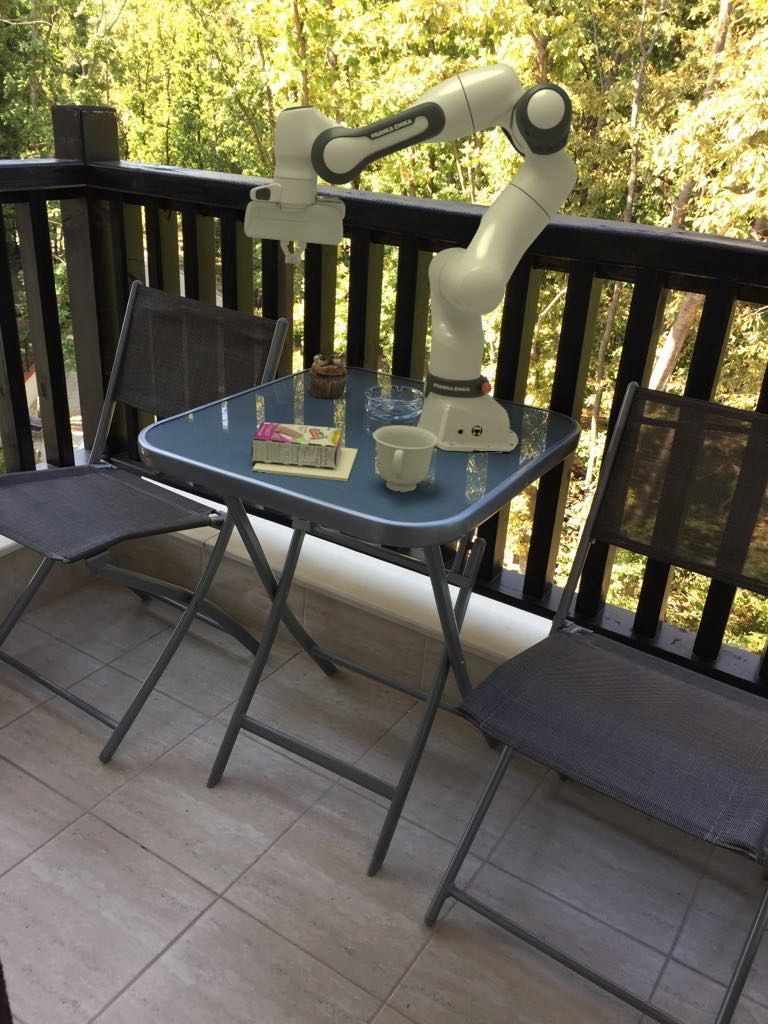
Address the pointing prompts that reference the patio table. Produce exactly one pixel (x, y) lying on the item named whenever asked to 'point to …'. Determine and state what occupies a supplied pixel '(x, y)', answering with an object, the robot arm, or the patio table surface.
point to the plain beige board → (314, 468)
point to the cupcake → (327, 377)
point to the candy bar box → (297, 445)
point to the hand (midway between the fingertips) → (292, 263)
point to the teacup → (404, 455)
